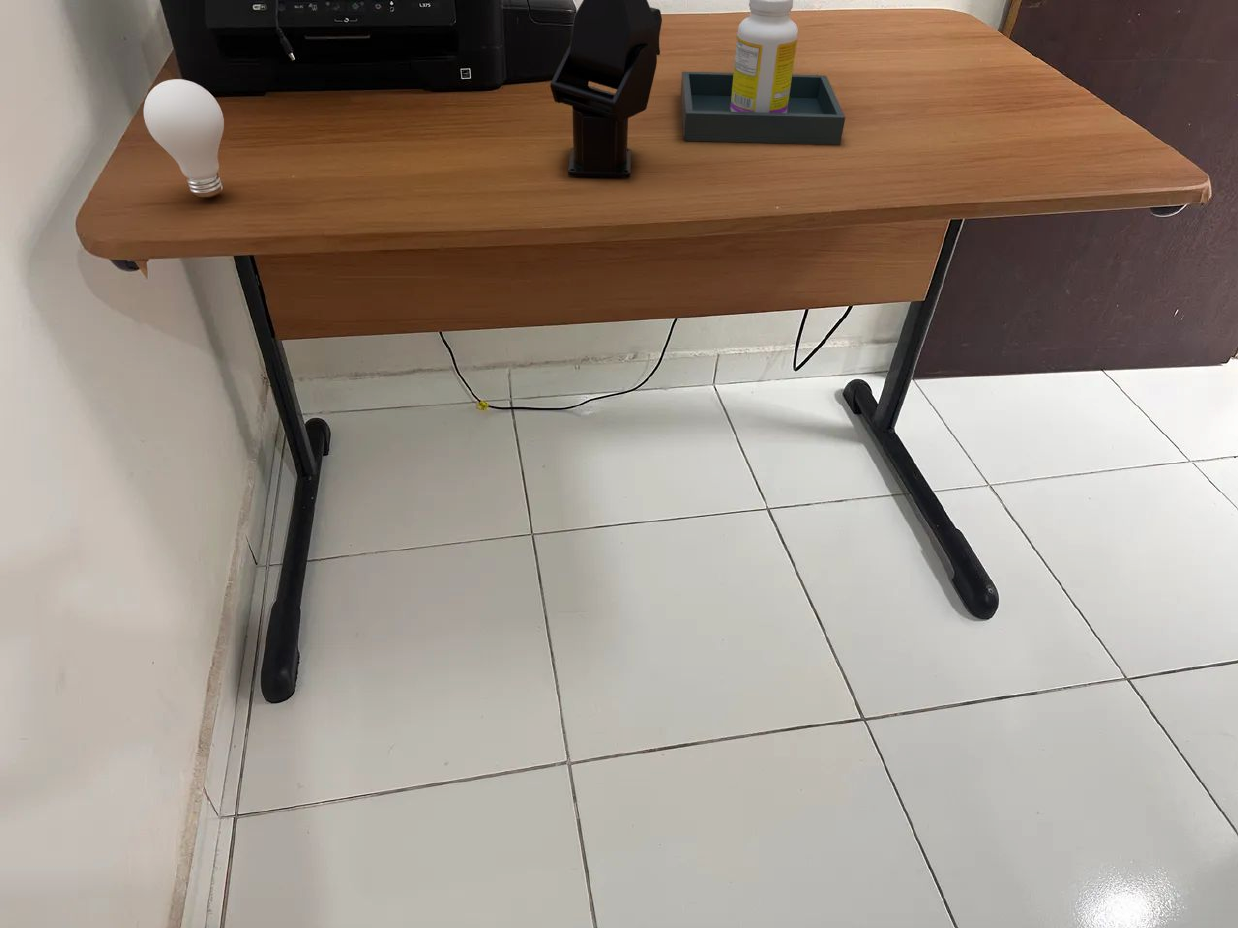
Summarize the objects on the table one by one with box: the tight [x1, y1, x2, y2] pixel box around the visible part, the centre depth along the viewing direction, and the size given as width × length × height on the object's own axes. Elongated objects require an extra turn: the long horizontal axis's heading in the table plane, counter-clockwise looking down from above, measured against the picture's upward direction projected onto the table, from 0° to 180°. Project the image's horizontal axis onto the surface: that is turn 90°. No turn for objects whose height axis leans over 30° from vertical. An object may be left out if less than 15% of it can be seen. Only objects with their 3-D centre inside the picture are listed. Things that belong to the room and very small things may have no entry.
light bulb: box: [143, 78, 225, 199], centre depth 81 cm, size 7×7×11 cm
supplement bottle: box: [731, 0, 799, 113], centre depth 98 cm, size 7×7×13 cm
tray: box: [679, 70, 846, 146], centre depth 101 cm, size 14×18×3 cm
